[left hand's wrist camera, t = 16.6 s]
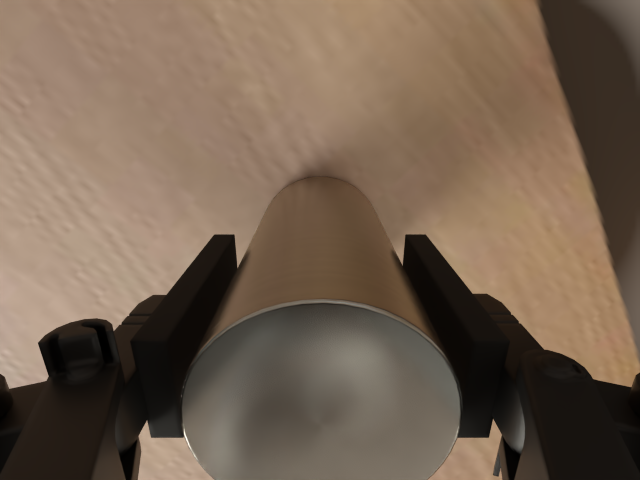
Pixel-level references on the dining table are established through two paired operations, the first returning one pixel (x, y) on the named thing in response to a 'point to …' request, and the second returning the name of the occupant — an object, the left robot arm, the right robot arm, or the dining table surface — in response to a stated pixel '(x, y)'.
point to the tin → (320, 354)
